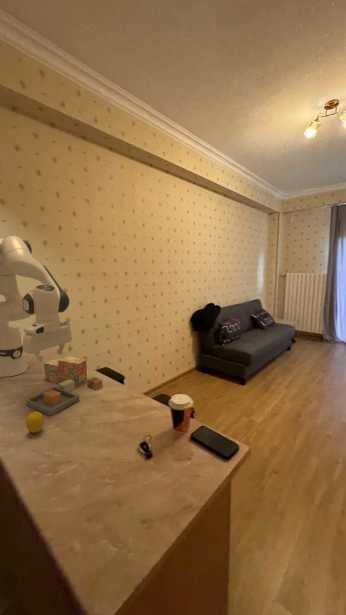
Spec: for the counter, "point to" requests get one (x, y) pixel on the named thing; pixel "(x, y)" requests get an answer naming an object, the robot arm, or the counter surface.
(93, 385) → the walnut brick
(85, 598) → the counter surface
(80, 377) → the stack of blocks
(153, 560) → the counter surface
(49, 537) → the counter surface
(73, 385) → the sage brick
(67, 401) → the charcoal tray
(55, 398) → the terracotta brick
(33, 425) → the lemon
